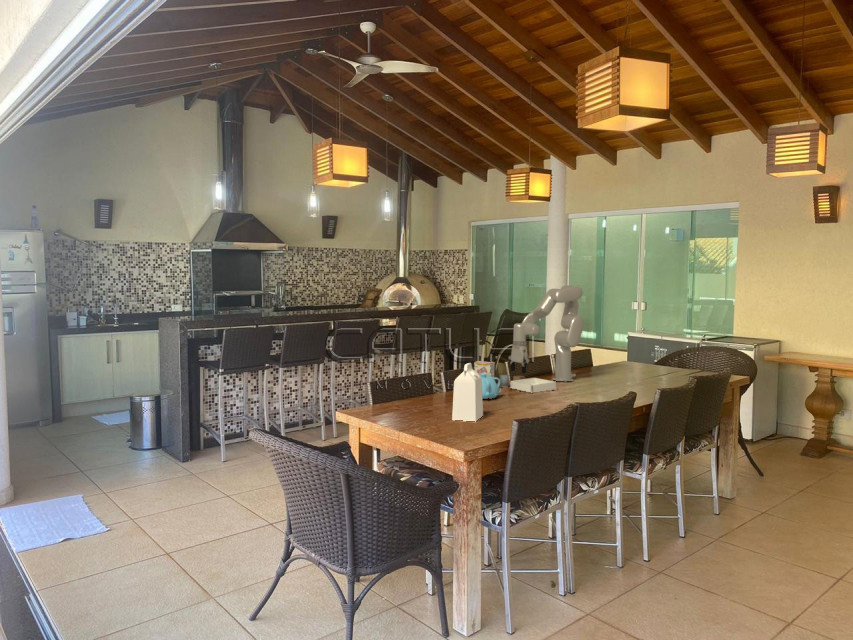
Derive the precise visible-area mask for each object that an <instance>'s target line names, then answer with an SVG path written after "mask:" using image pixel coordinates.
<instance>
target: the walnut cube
mask: <svg viewBox="0 0 853 640" xmlns="http://www.w3.org/2000/svg"><path fill="white" fill-rule="evenodd" d="M512 379H513V380H512V381H514V380H522V379H526V376H523V375H514V376H513V378H512Z"/></svg>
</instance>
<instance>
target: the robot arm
mask: <svg viewBox="0 0 853 640" xmlns="http://www.w3.org/2000/svg"><path fill="white" fill-rule="evenodd" d="M583 292H584V291H583V289H582V288H581V286H578V285H569V284H568V285H563V286H561V287H560V288H551V289H550V288H549V289H548V290H547V292H546V293H545V295H544V296H543V298H542V299H541V300H540V302H539V304H538V305H537V307H535V308H534V309H532V310H531V312H529V313H528V314H527V315H526V316H525V318H524V319H523V320H522V321H521V323H514V325H513V334H512V336H513V339H512V346H511V353H510V355H509V356H508V357H507V358H508V362H509V364H510V371H511V372H514V371H516V363H518V364H521V373H522V374H526V373H527V367H528V365H529V363H530V359H529V358H528V348H527V342H526V341H527V339H526V338H527V336H530V337H535V336H538V334H539V333H540V330H541V329H540V327H539V325H538V324H537V323H536V322H538V321H539V320H540V319H543V318H545V317H547V316H549V315H550V314H551V312H552V310H553V309H554V308H555V306H556V304H558V303H559V304H561V303H562V304H563V303H564V309H563V313H562V316H561V321H560V325H561V327H562V328H563V329H565V330H559V331H557V332H556V333H555V335H554V340H553V341H554V345H555V346H554V347H555V377H553V378H552V381H553V380H556V381H572V380H573V381H574V379H573V378H575V377H576V373H572V351H571V348H576V347H577V346H578V345H579V343H580V340H581V337H582V333H583V329H584V325H585V323H584V319H583V316H581V315H578V313H579V305H580V304H579V302H578V300H579V299H581V298H582V297H583V294H584V293H583ZM535 323H536V324H535ZM556 381H555V382H556ZM573 381H572V382H573Z"/></svg>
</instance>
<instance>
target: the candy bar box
mask: <svg viewBox="0 0 853 640" xmlns="http://www.w3.org/2000/svg"><path fill="white" fill-rule="evenodd" d="M473 364H474V365H473V366H474V367H473V370H474V371H475V372H476V373H477V374H478V375H479V376H481V374H482V373H485V374H486V376H491V377H493V378H495V366H496V365H495V364H496V363H495V362H492V361H481V360H477V361H474V362H473Z"/></svg>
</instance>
